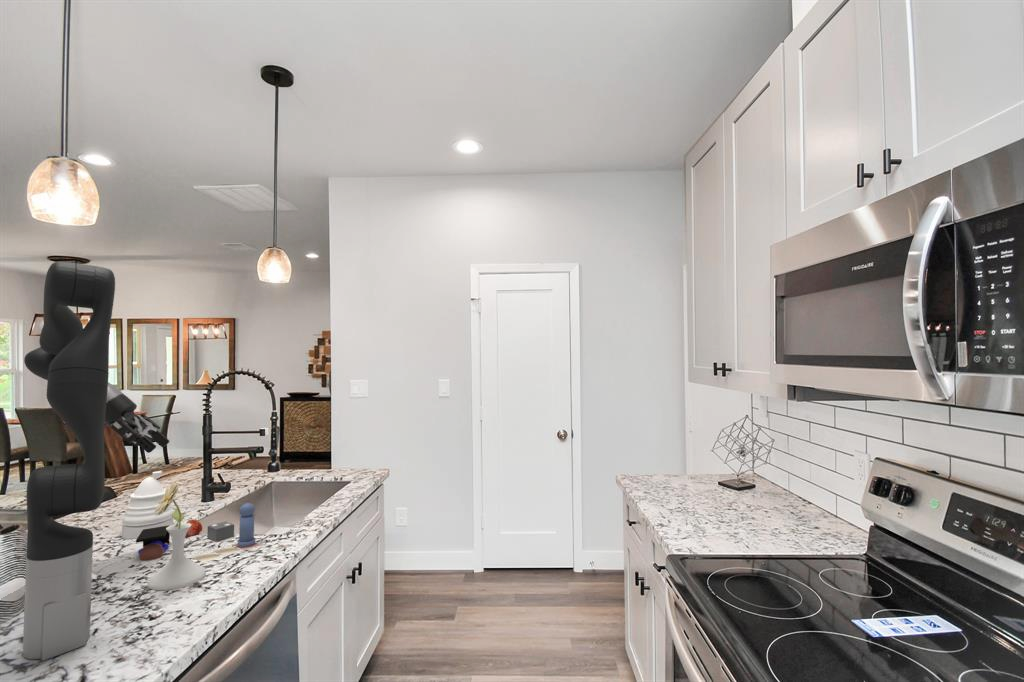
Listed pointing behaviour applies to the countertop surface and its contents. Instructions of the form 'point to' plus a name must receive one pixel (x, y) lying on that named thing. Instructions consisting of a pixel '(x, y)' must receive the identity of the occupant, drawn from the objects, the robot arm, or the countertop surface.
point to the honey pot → (145, 508)
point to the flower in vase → (175, 551)
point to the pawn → (246, 526)
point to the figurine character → (153, 542)
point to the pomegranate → (193, 528)
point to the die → (220, 531)
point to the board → (222, 551)
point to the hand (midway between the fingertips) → (159, 447)
